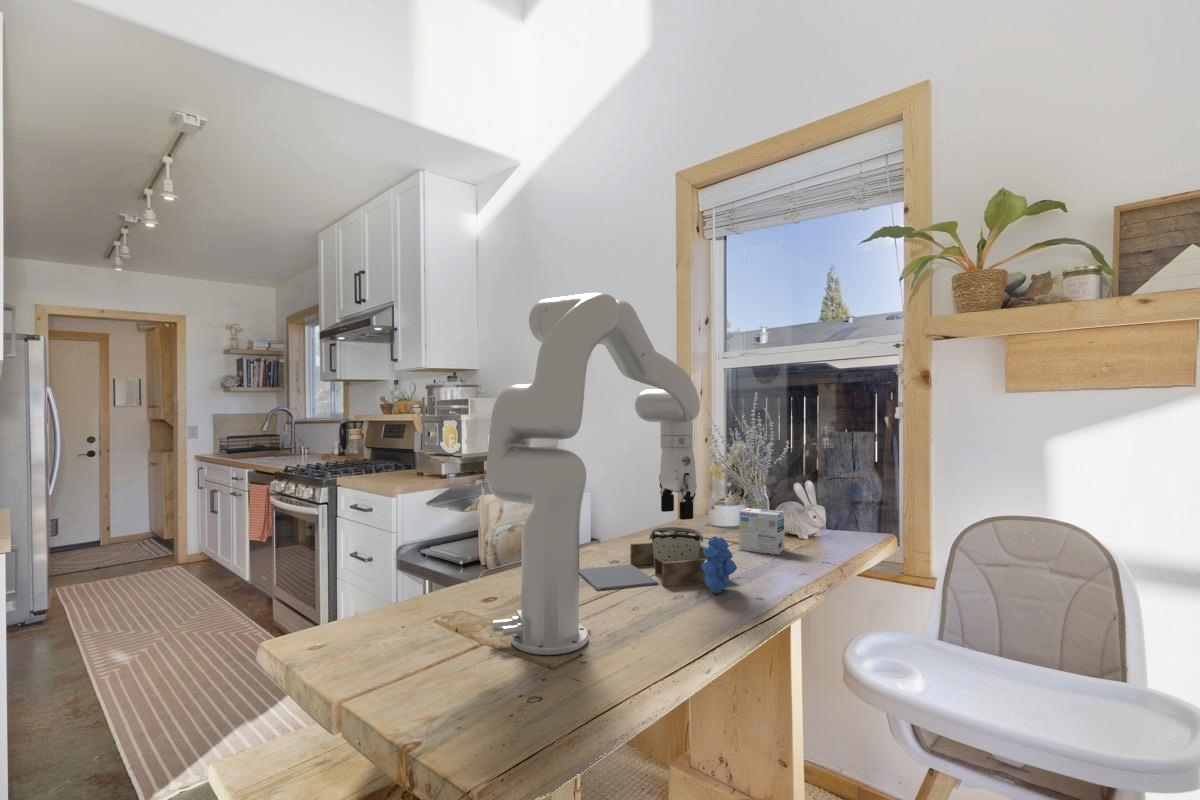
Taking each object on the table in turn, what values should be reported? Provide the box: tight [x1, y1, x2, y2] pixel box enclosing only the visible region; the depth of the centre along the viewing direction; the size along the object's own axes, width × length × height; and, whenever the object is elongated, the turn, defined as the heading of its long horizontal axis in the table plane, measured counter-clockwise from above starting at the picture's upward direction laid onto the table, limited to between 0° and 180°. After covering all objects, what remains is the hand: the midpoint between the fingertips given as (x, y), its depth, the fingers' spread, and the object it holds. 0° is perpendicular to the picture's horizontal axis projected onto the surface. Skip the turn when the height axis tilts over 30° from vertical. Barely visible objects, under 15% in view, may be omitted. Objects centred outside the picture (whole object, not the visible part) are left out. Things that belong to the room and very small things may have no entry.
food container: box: [648, 526, 704, 576], centre depth 138 cm, size 12×6×10 cm, turn 84°
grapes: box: [701, 536, 738, 594], centre depth 122 cm, size 12×7×12 cm, turn 144°
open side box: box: [629, 541, 730, 588], centre depth 139 cm, size 16×19×5 cm
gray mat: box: [579, 564, 659, 591], centre depth 133 cm, size 14×15×1 cm
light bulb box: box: [738, 507, 785, 555], centre depth 160 cm, size 11×7×11 cm, turn 58°
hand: (676, 515), depth 139 cm, fingers open, 9 cm apart
